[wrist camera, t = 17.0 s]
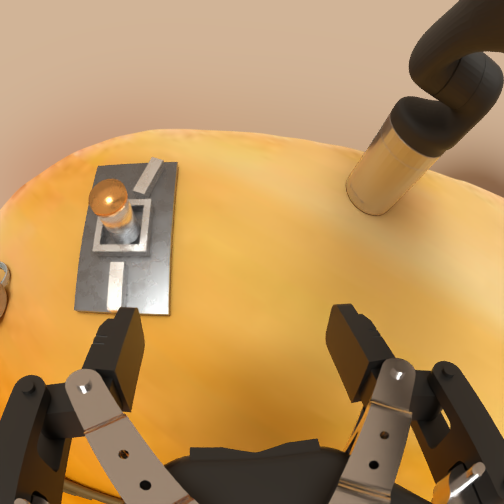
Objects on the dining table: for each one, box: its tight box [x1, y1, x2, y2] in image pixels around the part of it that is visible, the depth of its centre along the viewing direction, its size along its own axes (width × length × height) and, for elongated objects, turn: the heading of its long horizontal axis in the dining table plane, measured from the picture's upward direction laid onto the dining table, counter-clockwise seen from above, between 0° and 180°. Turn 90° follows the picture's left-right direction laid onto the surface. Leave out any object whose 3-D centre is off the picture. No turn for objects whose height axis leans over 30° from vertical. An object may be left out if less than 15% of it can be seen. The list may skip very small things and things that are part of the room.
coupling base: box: [74, 157, 178, 316], centre depth 41 cm, size 24×14×4 cm, turn 2°
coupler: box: [89, 179, 140, 244], centre depth 37 cm, size 5×5×10 cm
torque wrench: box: [63, 479, 124, 504], centre depth 27 cm, size 5×35×5 cm
